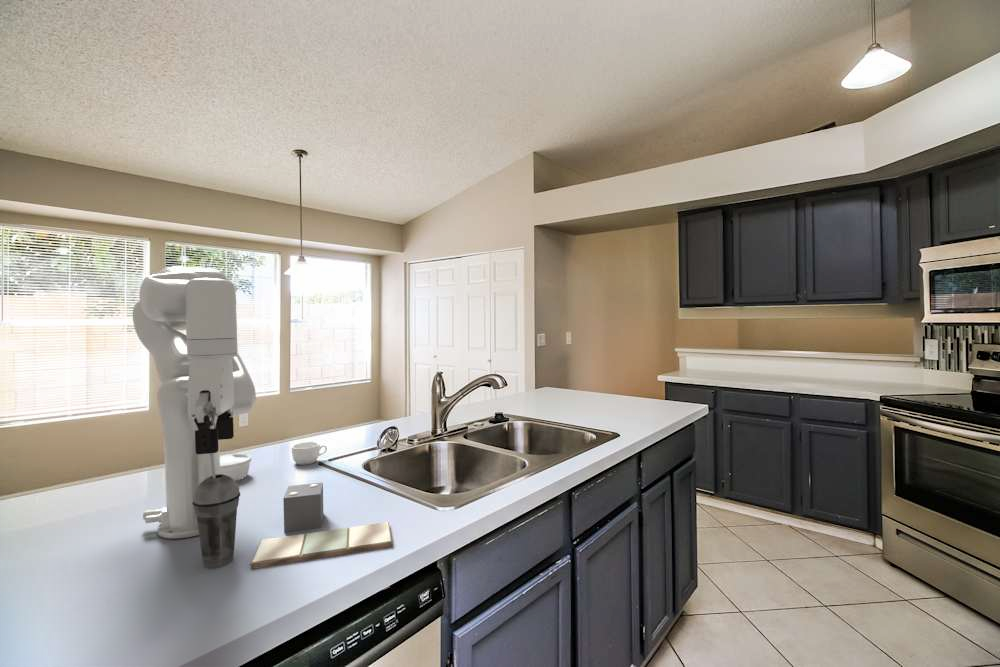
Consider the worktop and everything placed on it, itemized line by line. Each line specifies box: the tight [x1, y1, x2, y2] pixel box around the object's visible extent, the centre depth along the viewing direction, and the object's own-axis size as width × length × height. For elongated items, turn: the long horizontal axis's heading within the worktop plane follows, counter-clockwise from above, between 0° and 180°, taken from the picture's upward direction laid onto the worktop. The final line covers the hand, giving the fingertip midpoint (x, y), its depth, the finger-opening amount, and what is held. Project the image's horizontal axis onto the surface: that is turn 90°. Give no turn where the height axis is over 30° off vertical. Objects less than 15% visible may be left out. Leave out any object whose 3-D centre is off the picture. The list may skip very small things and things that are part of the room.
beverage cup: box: [192, 453, 241, 569], centre depth 80 cm, size 7×7×20 cm
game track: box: [250, 521, 393, 570], centre depth 86 cm, size 24×9×1 cm, turn 108°
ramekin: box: [220, 453, 252, 482], centre depth 123 cm, size 11×11×5 cm
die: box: [283, 482, 324, 533], centre depth 96 cm, size 7×7×7 cm
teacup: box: [291, 441, 328, 466], centre depth 137 cm, size 10×8×5 cm
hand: (216, 445), depth 80 cm, fingers open, 9 cm apart
